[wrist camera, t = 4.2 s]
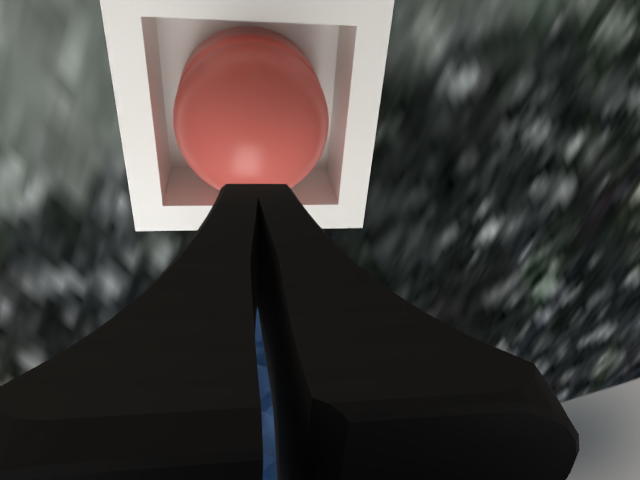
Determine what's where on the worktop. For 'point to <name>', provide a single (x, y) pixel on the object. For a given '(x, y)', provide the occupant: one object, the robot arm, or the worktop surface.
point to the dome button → (250, 110)
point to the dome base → (164, 76)
